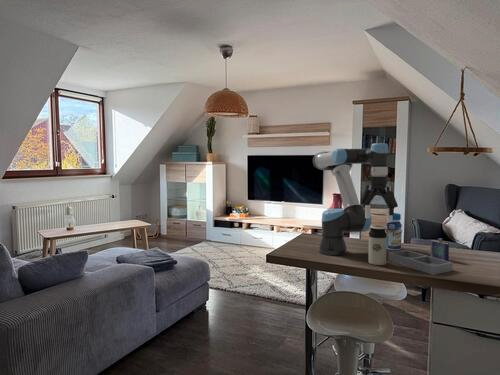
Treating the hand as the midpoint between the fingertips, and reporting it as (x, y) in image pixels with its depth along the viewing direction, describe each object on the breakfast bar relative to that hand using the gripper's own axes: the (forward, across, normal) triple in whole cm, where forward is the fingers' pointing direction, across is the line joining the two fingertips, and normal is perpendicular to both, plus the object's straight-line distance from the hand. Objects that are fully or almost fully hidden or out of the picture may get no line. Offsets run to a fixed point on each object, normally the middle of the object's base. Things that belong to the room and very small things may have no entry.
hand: (378, 220), depth 158 cm
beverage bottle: (+21, -16, +29) cm, 40 cm away
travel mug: (+21, 0, 0) cm, 21 cm away
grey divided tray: (+21, +11, +15) cm, 28 cm away
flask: (+21, +9, +33) cm, 40 cm away
